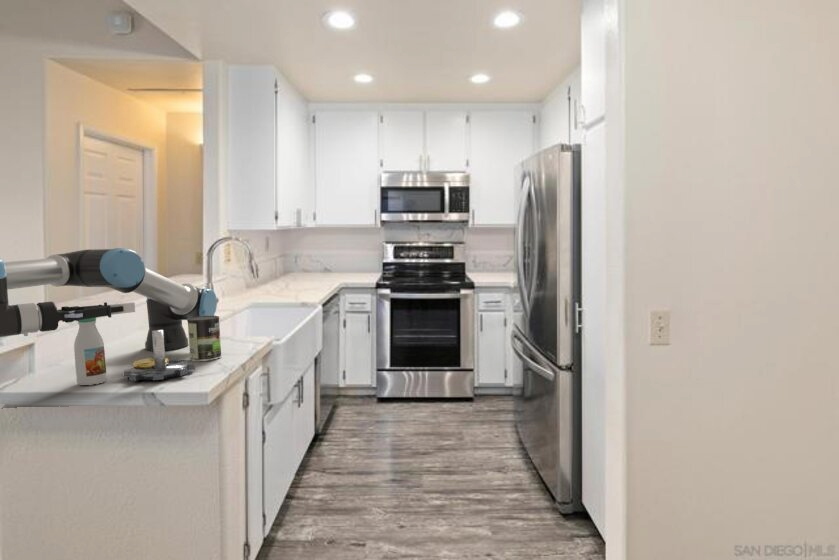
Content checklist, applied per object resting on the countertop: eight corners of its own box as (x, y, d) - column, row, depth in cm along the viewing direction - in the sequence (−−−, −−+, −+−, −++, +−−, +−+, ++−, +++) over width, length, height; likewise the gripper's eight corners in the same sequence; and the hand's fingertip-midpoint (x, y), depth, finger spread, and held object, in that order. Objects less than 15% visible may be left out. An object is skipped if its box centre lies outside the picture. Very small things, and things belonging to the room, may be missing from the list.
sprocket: (162, 363, 193) (159, 321, 192) (208, 367, 185) (205, 323, 184) (109, 378, 176) (105, 331, 174) (157, 383, 167) (153, 334, 166)
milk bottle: (75, 387, 169) (69, 318, 167) (78, 381, 176) (73, 315, 174) (106, 384, 172) (100, 316, 170) (108, 378, 179) (102, 312, 177)
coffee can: (227, 355, 207) (225, 315, 206) (211, 362, 197) (208, 320, 196) (200, 354, 209) (198, 315, 208) (183, 361, 199) (180, 320, 198)
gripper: (32, 329, 156) (126, 318, 173) (45, 334, 147) (143, 322, 164) (29, 301, 156) (124, 292, 172) (43, 304, 146) (141, 295, 163)
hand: (133, 307), depth 168 cm, fingers closed
